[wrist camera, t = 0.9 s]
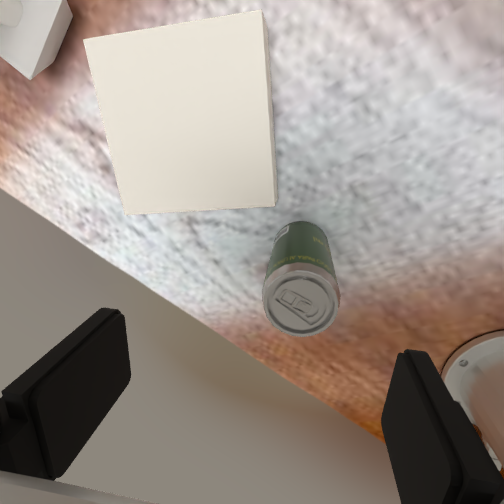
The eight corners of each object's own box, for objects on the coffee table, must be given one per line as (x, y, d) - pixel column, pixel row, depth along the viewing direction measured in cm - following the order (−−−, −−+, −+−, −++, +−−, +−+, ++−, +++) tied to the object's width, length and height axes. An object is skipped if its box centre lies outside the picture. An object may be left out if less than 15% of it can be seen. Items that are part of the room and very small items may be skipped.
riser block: (278, 197, 30) (274, 206, 27) (144, 205, 33) (124, 215, 29) (267, 27, 26) (261, 9, 22) (112, 51, 28) (82, 39, 24)
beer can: (265, 253, 33) (246, 315, 22) (291, 209, 31) (285, 253, 20) (309, 278, 33) (313, 352, 22) (338, 236, 31) (359, 294, 20)
